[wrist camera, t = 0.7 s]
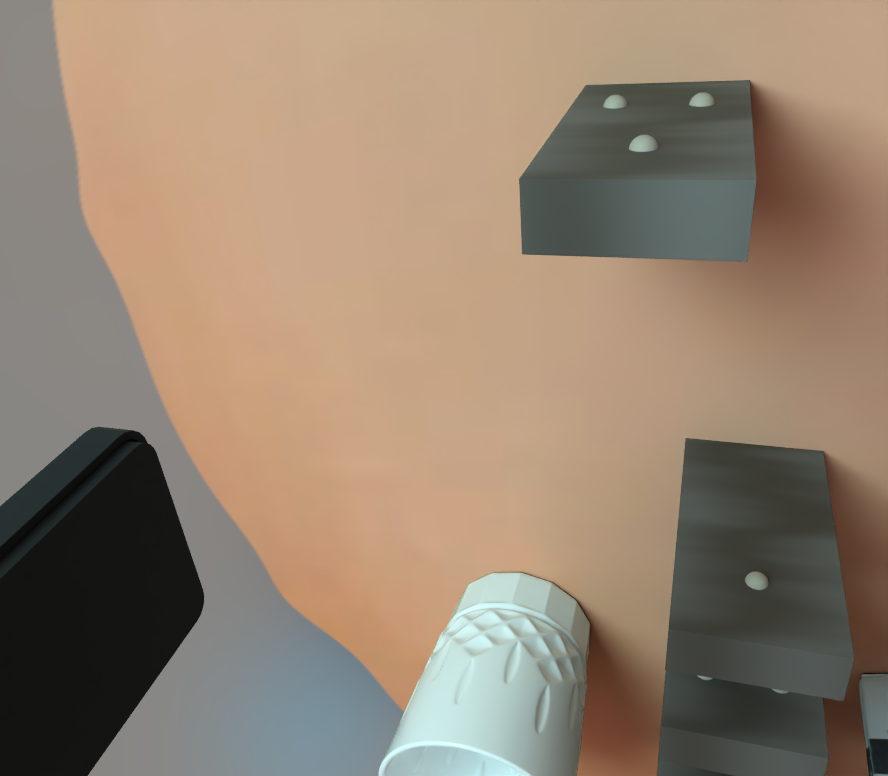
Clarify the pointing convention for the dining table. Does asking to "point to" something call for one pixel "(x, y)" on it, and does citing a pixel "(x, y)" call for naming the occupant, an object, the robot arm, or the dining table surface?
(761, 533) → the tile
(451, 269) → the dining table surface
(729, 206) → the tile
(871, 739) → the tea box
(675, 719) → the tile
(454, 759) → the white cup
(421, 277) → the dining table surface
